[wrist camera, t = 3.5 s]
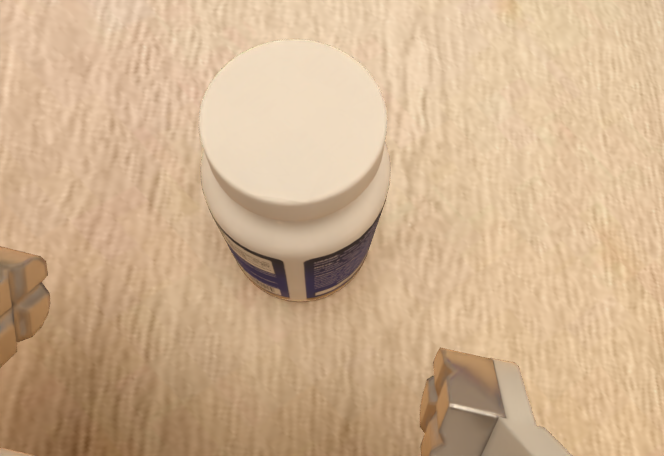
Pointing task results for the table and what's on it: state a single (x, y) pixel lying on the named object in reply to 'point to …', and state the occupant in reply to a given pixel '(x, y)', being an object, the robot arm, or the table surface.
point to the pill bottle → (295, 165)
